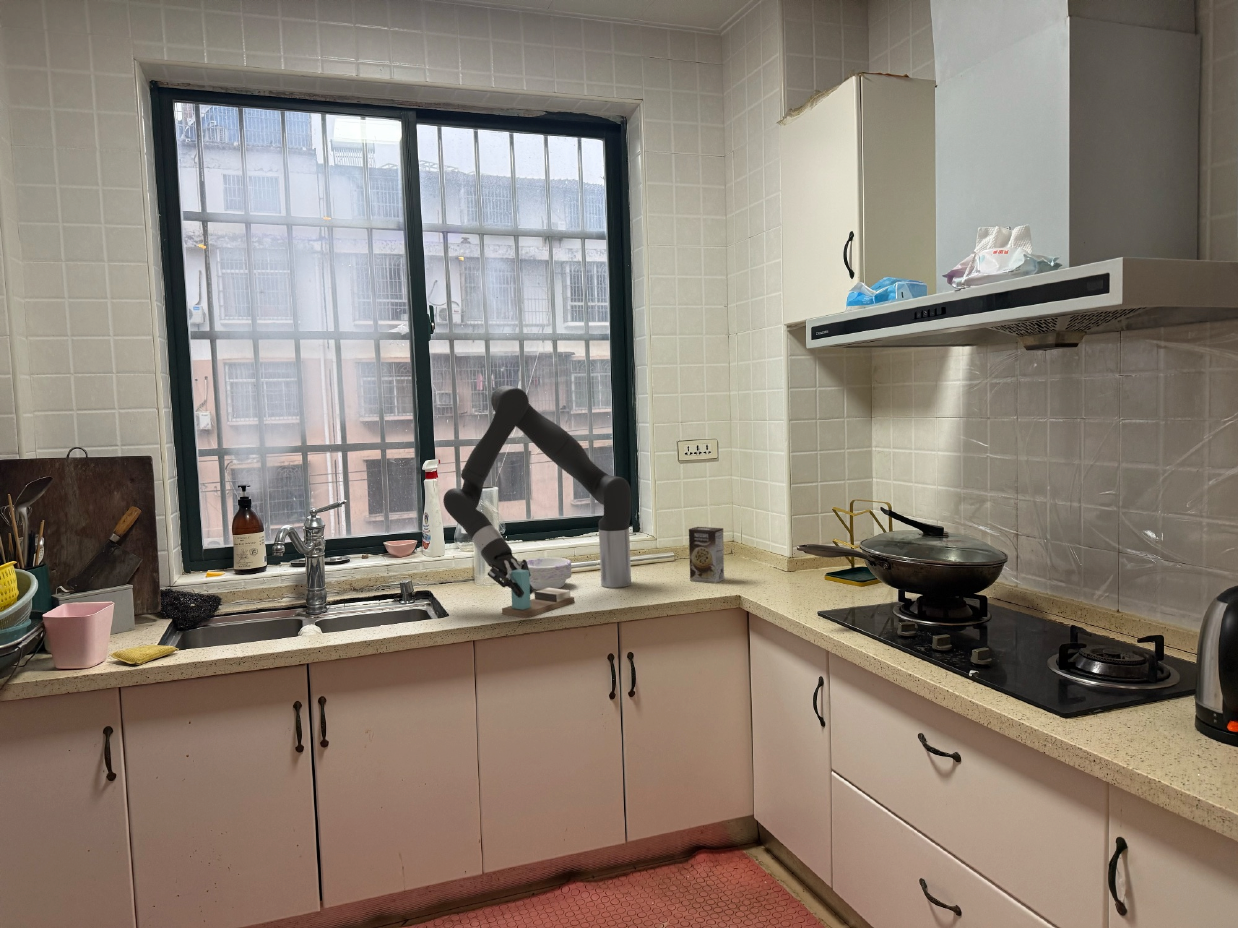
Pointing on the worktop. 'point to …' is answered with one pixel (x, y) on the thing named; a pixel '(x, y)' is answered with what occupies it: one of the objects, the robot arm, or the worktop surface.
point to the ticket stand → (542, 602)
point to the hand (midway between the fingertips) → (526, 594)
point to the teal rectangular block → (524, 583)
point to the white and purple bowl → (549, 572)
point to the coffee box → (706, 554)
